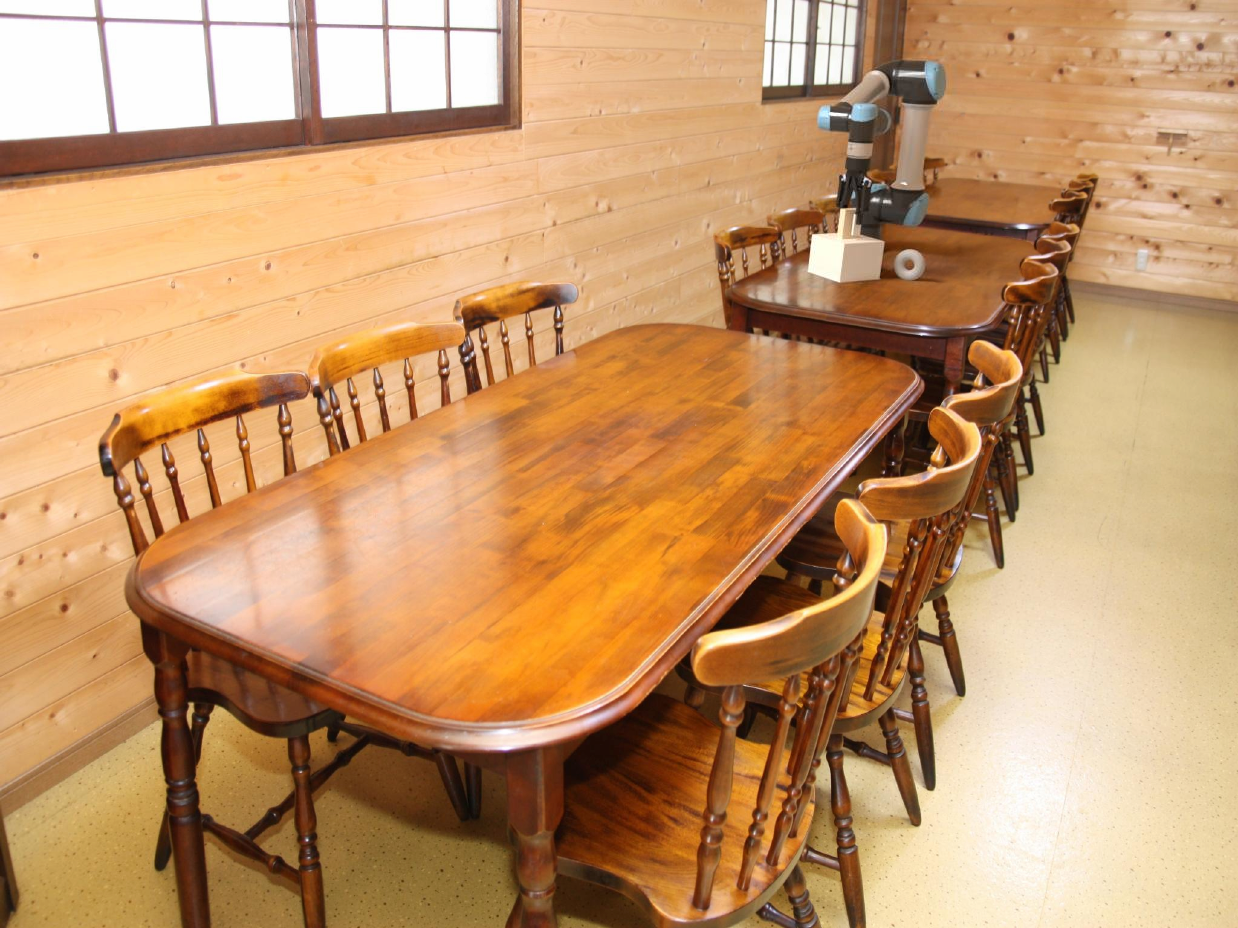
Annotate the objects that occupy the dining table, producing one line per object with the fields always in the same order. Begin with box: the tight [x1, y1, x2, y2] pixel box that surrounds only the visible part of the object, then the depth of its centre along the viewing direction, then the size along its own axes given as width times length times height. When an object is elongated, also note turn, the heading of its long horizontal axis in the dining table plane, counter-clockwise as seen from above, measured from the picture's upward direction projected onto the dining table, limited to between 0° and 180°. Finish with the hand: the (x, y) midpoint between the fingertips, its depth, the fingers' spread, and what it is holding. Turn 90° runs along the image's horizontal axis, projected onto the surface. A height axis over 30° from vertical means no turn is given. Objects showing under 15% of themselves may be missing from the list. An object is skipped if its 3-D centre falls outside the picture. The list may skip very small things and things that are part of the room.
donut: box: [893, 248, 926, 281], centre depth 327 cm, size 10×3×10 cm, turn 58°
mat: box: [806, 270, 881, 284], centre depth 330 cm, size 17×17×1 cm
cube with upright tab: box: [807, 207, 886, 283], centre depth 326 cm, size 16×16×21 cm
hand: (848, 232), depth 325 cm, fingers open, 6 cm apart
